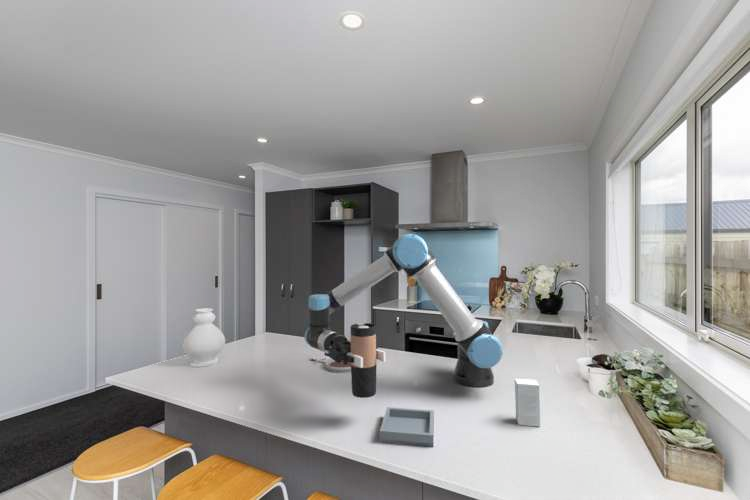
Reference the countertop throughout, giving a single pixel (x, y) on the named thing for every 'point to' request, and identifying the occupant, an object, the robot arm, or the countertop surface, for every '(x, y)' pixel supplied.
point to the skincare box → (527, 402)
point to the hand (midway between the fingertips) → (373, 359)
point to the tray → (408, 427)
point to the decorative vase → (204, 340)
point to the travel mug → (364, 360)
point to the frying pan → (334, 365)
